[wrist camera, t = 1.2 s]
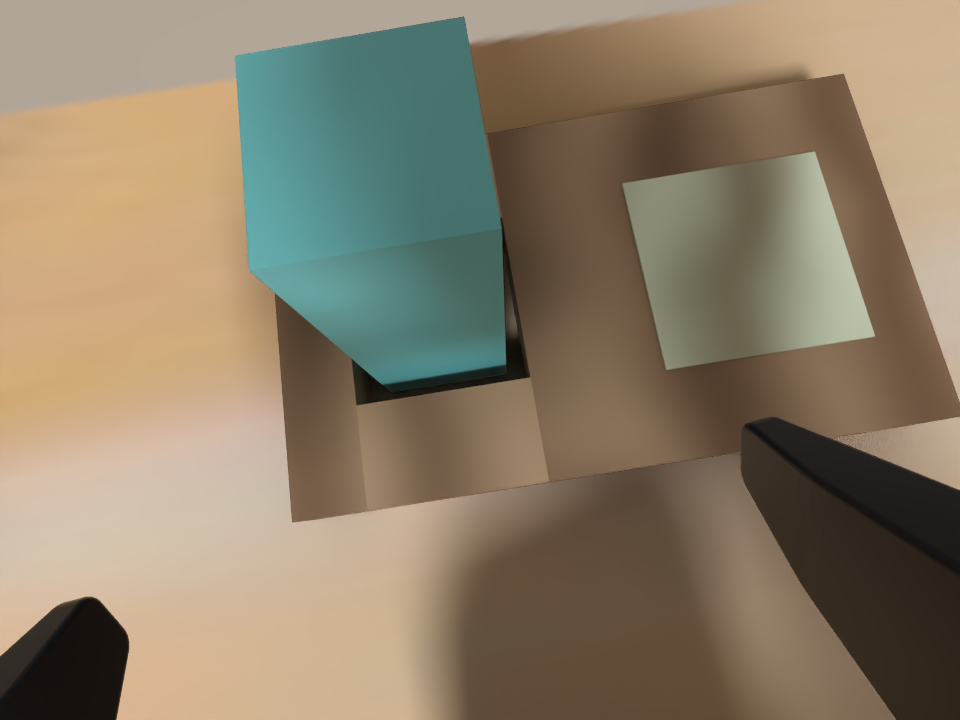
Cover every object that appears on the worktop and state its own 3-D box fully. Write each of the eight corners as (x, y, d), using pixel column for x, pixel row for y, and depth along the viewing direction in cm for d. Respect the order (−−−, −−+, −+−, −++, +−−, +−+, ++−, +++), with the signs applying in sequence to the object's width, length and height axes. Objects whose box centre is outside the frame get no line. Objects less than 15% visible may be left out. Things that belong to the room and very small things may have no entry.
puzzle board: (810, 116, 24) (845, 71, 22) (912, 424, 21) (967, 415, 19) (290, 203, 24) (264, 169, 22) (316, 519, 21) (290, 522, 19)
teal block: (488, 266, 23) (463, 16, 11) (506, 374, 22) (501, 228, 10) (378, 284, 23) (235, 55, 11) (391, 392, 22) (248, 270, 10)
